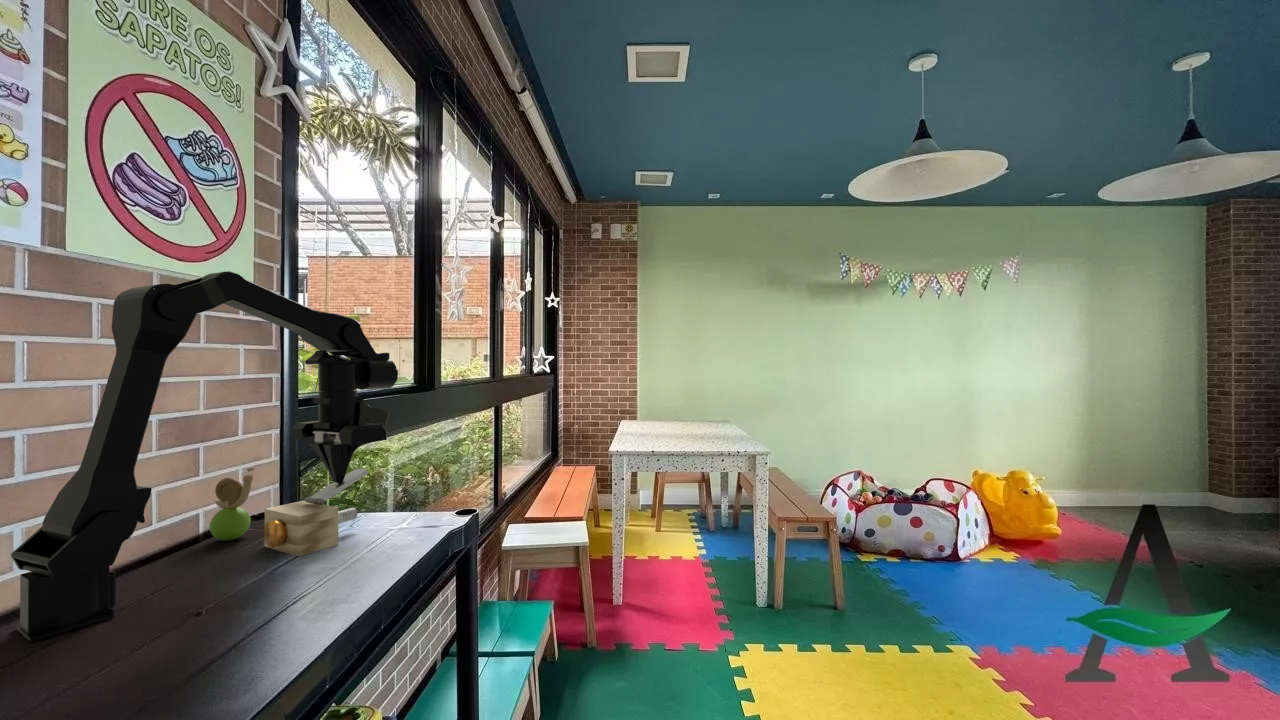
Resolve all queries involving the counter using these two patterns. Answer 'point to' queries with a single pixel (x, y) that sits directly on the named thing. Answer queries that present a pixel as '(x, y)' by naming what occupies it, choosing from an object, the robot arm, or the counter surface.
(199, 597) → the counter surface
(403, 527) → the counter surface
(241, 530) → the snail figurine
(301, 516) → the block
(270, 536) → the pin
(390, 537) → the counter surface
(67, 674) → the counter surface
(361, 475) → the bar
